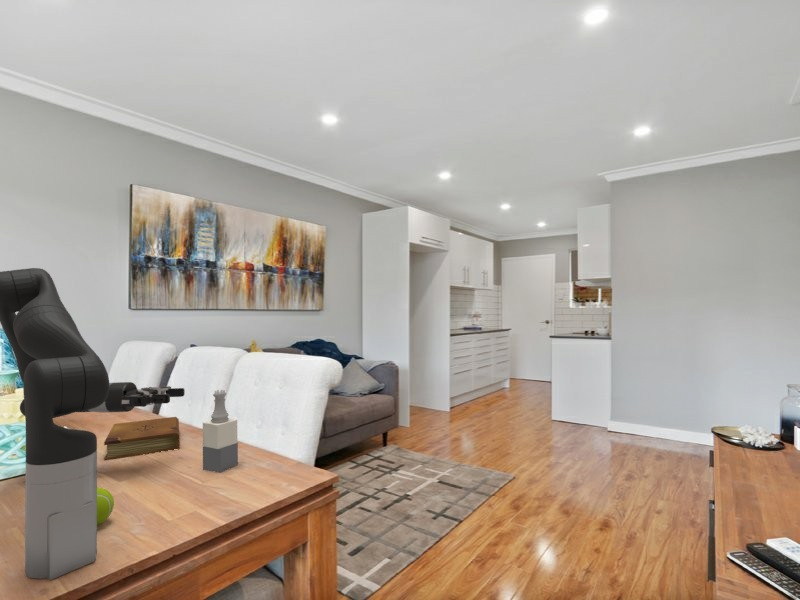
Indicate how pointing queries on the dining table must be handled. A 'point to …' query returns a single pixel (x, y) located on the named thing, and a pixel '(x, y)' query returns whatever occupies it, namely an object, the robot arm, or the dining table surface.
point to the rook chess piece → (219, 408)
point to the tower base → (220, 458)
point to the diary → (142, 437)
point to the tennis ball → (104, 504)
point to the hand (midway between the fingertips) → (177, 395)
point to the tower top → (219, 434)
